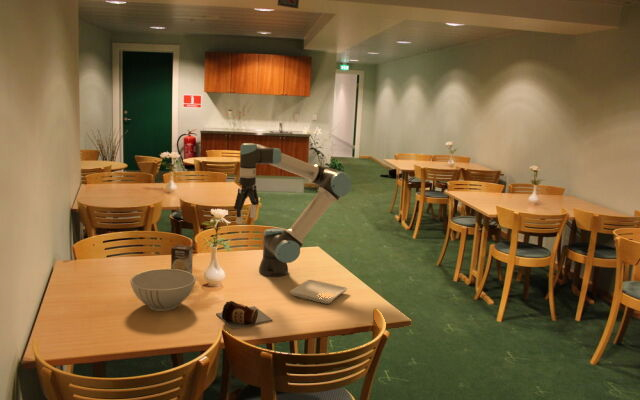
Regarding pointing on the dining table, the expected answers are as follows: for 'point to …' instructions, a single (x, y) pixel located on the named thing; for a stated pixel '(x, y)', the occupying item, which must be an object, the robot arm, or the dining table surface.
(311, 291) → the salad plate
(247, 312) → the coffee cup
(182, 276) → the decorative bowl
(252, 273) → the dining table surface
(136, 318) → the dining table surface
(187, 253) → the coffee box
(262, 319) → the rubber mat
